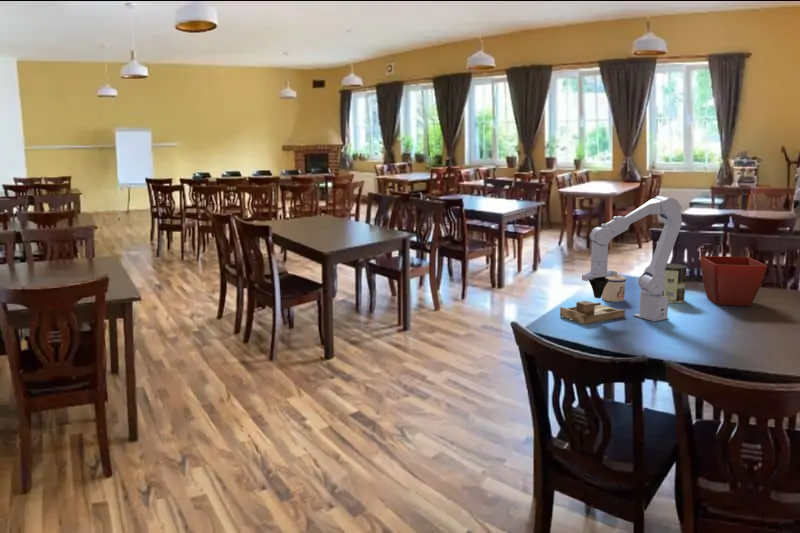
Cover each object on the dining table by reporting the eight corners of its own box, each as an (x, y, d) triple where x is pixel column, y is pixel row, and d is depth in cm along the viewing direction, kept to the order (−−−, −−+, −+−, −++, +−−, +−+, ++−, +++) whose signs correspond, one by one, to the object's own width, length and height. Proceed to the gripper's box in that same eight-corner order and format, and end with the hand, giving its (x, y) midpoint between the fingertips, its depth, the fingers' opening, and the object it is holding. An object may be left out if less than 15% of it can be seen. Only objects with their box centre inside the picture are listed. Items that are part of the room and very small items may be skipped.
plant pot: (744, 296, 285) (748, 256, 282) (763, 308, 267) (768, 265, 263) (696, 295, 287) (699, 255, 284) (711, 307, 268) (715, 264, 265)
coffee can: (678, 296, 285) (681, 263, 282) (688, 303, 275) (691, 268, 272) (653, 296, 285) (655, 263, 283) (662, 303, 275) (664, 268, 272)
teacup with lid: (620, 303, 275) (622, 274, 272) (598, 300, 280) (599, 271, 277) (629, 297, 285) (631, 269, 282) (607, 294, 290) (609, 266, 287)
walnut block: (594, 315, 250) (594, 303, 249) (585, 317, 248) (585, 304, 247) (585, 312, 254) (585, 300, 253) (575, 314, 251) (576, 302, 251)
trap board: (624, 316, 256) (625, 307, 255) (584, 324, 246) (585, 315, 245) (599, 309, 266) (599, 300, 265) (560, 316, 256) (560, 307, 255)
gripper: (605, 257, 257) (603, 292, 260) (576, 261, 250) (574, 298, 252) (620, 260, 251) (618, 296, 254) (591, 264, 244) (589, 302, 246)
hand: (597, 297), depth 253 cm, fingers closed
